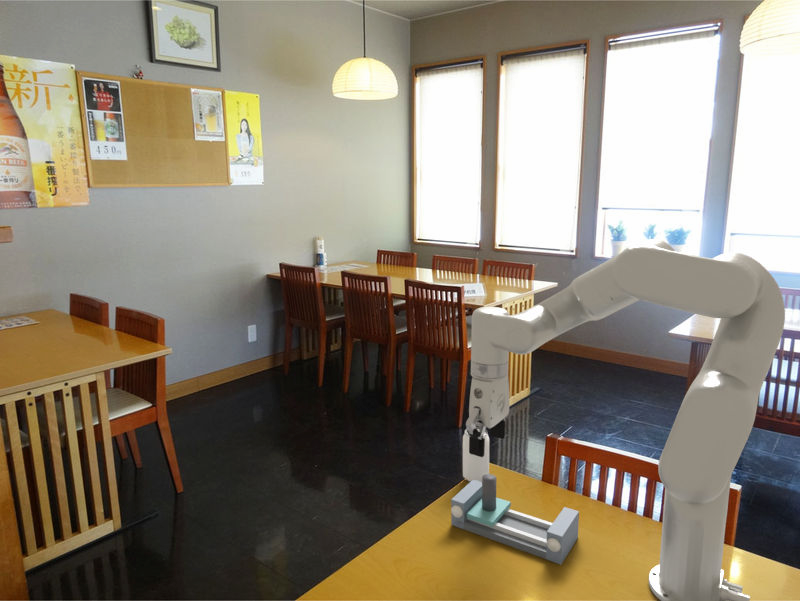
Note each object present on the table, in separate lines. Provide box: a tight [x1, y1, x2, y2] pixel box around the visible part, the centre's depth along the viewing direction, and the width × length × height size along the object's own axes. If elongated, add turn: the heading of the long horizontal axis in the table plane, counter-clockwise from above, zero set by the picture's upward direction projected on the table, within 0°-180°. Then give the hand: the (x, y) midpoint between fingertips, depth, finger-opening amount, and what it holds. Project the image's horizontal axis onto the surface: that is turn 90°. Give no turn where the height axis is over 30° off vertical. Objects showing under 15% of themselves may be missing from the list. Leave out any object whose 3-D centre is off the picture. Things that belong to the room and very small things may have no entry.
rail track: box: [450, 479, 580, 566], centre depth 118 cm, size 24×10×6 cm, turn 55°
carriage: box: [467, 473, 512, 527], centre depth 120 cm, size 6×9×8 cm, turn 145°
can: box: [462, 426, 490, 483], centre depth 140 cm, size 6×6×12 cm
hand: (487, 445), depth 119 cm, fingers open, 9 cm apart
